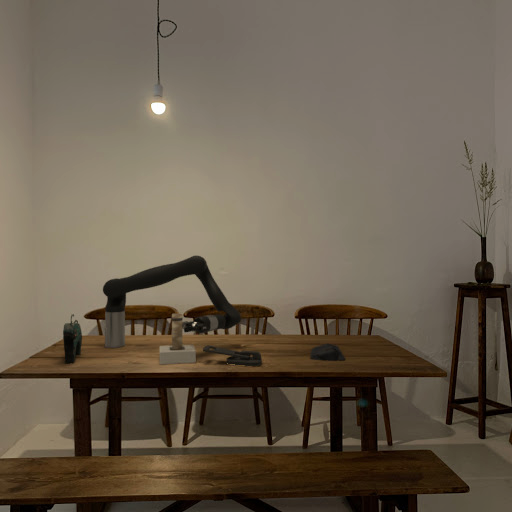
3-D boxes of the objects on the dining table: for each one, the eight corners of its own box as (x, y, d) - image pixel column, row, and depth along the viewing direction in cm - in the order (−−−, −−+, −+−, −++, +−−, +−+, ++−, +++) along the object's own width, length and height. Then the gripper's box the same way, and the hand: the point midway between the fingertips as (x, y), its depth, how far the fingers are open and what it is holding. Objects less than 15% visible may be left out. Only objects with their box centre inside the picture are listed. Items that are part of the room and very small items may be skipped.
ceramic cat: (75, 364, 198) (75, 317, 197) (59, 365, 197) (58, 317, 196) (84, 353, 218) (84, 310, 217) (69, 353, 216) (69, 310, 216)
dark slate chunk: (342, 350, 226) (342, 340, 226) (345, 362, 204) (345, 351, 204) (310, 349, 228) (310, 339, 228) (309, 361, 206) (309, 350, 206)
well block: (159, 364, 198) (159, 352, 198) (159, 357, 211) (159, 345, 211) (195, 362, 201) (195, 351, 201) (193, 355, 214) (193, 344, 214)
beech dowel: (172, 361, 203) (171, 315, 203) (171, 358, 208) (171, 313, 207) (182, 360, 204) (182, 314, 204) (182, 358, 209) (182, 313, 208)
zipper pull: (206, 344, 207) (262, 346, 203) (206, 359, 207) (262, 362, 203) (200, 349, 198) (259, 351, 194) (200, 364, 198) (259, 367, 194)
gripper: (195, 314, 223) (168, 318, 211) (216, 317, 213) (188, 322, 201) (195, 330, 223) (168, 335, 211) (216, 333, 213) (188, 339, 201)
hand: (178, 328), depth 206 cm, fingers open, 8 cm apart
